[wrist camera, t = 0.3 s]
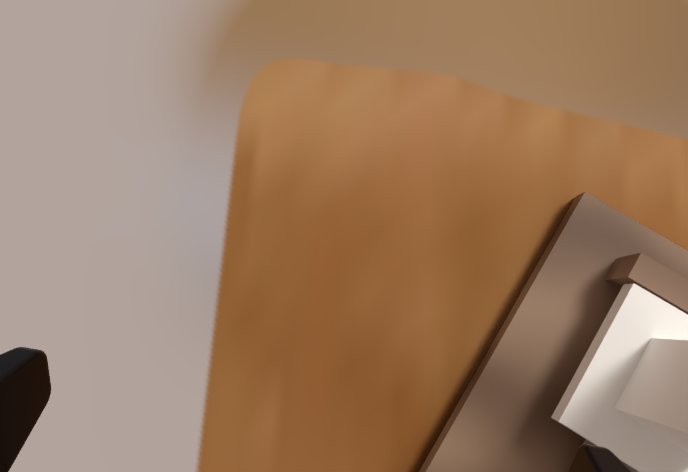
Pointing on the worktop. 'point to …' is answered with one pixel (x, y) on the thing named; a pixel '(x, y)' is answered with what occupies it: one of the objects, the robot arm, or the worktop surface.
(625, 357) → the slider
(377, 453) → the worktop surface
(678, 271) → the rail board
